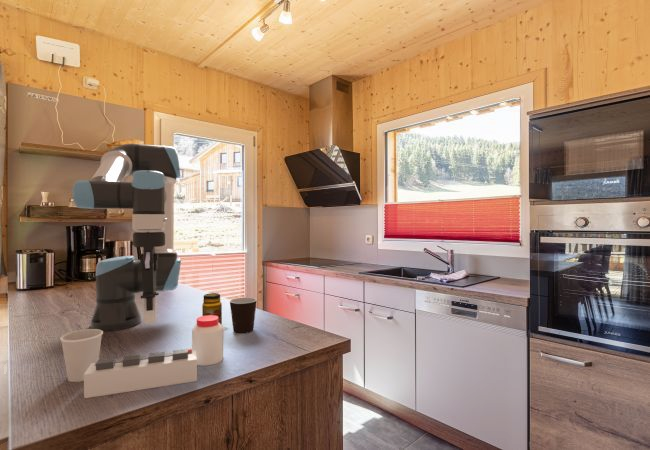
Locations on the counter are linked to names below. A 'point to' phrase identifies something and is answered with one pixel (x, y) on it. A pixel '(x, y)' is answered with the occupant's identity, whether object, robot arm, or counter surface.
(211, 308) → the condiment
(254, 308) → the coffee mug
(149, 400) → the counter surface
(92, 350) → the dixie cup
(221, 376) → the counter surface
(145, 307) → the robot arm
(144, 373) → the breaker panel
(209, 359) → the pill bottle
